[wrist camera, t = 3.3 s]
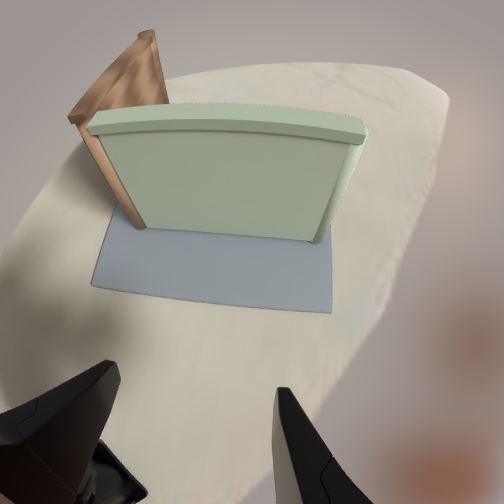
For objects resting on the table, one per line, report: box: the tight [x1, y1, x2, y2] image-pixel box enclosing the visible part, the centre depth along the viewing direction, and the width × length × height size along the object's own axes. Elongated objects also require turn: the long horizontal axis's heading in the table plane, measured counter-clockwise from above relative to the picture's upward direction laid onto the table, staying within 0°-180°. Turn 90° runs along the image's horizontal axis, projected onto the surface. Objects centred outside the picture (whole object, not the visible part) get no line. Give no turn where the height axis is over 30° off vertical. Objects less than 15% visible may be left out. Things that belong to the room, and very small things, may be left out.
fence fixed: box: [67, 30, 169, 212], centre depth 25 cm, size 16×2×14 cm, turn 175°
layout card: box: [91, 201, 332, 313], centre depth 29 cm, size 23×22×1 cm
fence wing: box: [79, 103, 369, 244], centre depth 20 cm, size 2×18×14 cm, turn 84°
